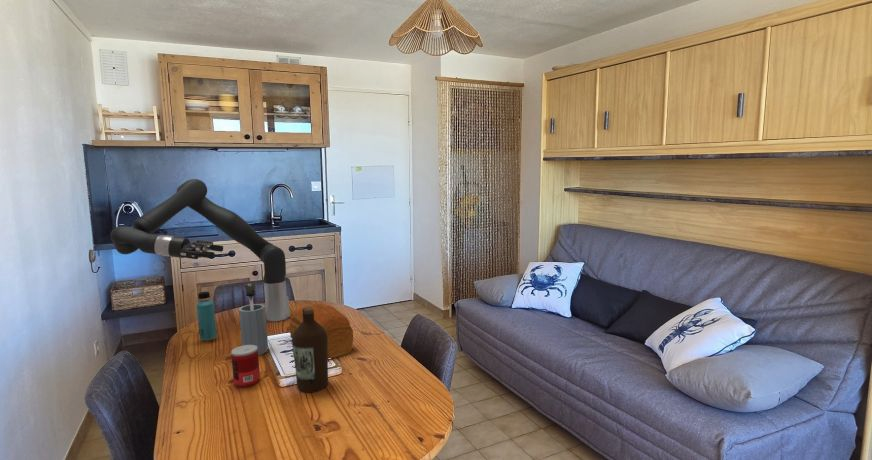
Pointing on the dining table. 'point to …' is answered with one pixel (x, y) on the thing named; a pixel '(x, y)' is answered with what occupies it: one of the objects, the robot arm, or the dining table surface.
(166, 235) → the robot arm
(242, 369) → the canned food
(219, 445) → the dining table surface
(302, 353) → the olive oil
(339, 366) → the dining table surface
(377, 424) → the dining table surface
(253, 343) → the grey utensil holder
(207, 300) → the beverage bottle
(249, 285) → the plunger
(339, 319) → the bread
